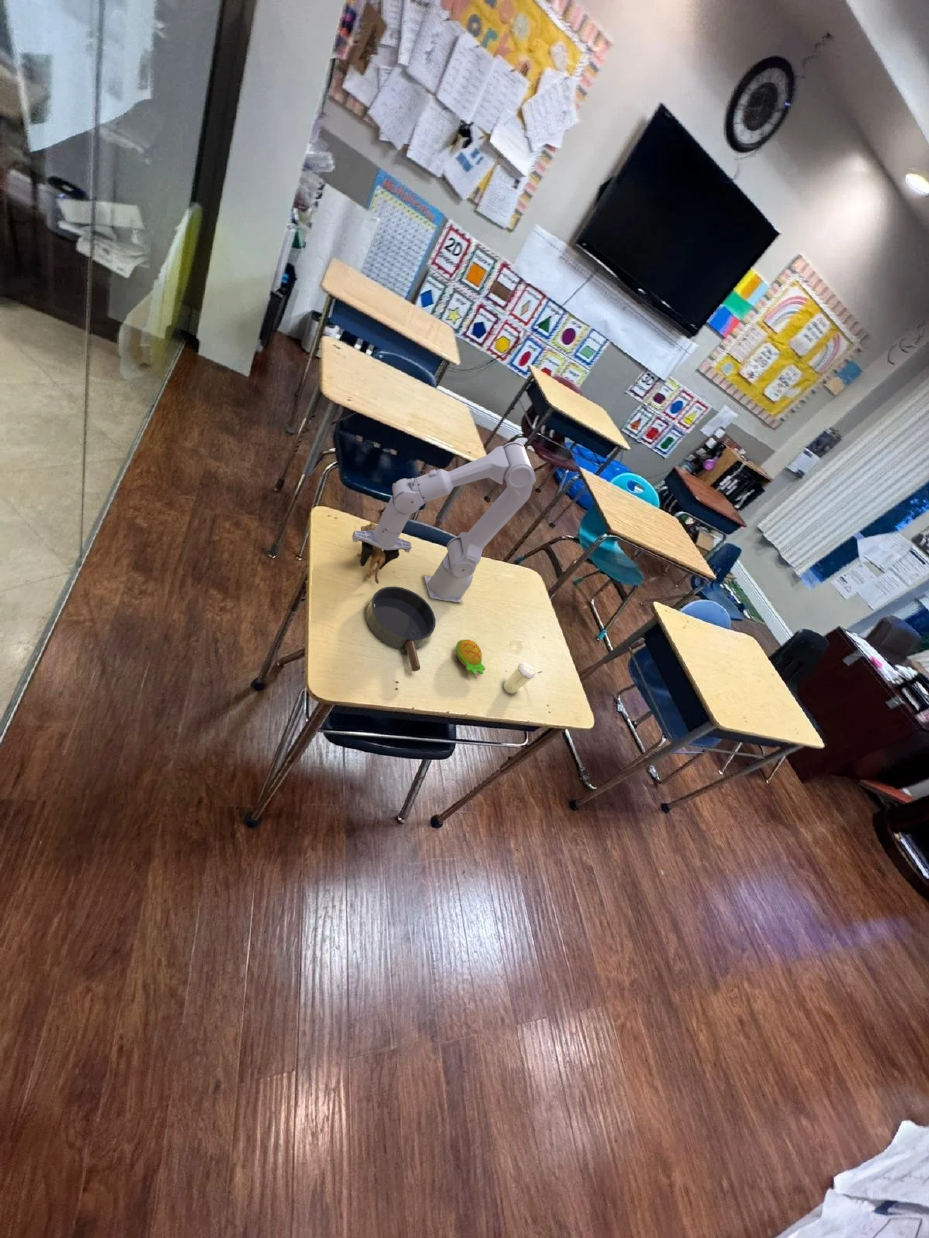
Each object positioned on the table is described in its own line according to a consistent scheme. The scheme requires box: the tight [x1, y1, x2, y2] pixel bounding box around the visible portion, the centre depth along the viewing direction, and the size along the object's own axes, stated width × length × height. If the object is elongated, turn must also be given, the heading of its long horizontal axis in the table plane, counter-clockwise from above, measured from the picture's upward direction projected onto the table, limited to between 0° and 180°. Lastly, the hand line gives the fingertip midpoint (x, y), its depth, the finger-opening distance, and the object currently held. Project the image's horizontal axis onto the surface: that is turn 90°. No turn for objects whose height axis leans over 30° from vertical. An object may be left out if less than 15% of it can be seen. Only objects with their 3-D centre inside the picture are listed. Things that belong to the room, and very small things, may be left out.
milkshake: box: [503, 661, 543, 695], centre depth 124 cm, size 4×5×10 cm
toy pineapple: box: [455, 638, 486, 675], centre depth 124 cm, size 7×10×5 cm
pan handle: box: [400, 641, 421, 672], centre depth 115 cm, size 7×2×4 cm, turn 17°
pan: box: [365, 585, 437, 650], centre depth 122 cm, size 16×16×4 cm
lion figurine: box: [356, 521, 385, 585], centre depth 128 cm, size 15×5×9 cm, turn 30°
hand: (370, 565), depth 129 cm, fingers closed on lion figurine, 4 cm apart
